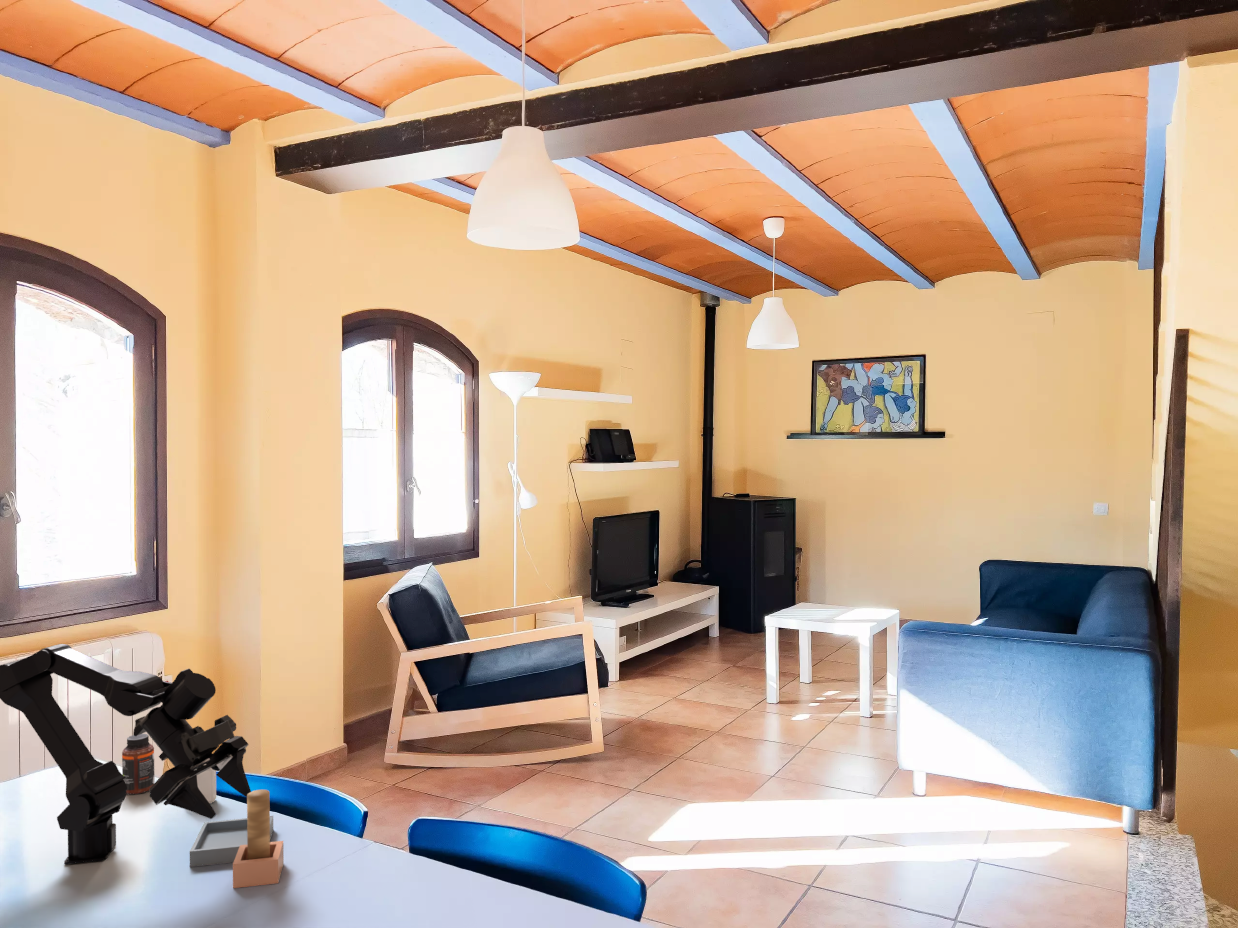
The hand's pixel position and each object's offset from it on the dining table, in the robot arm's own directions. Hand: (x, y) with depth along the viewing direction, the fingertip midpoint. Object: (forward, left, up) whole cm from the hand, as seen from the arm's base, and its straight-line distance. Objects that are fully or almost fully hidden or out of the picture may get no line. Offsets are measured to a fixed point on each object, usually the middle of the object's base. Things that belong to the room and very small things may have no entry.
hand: (232, 805), depth 150 cm
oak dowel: (+5, -2, -11) cm, 13 cm away
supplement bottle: (-25, +43, -12) cm, 51 cm away
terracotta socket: (+5, -2, -11) cm, 13 cm away
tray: (-1, +10, -11) cm, 15 cm away
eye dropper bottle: (-11, +33, -12) cm, 37 cm away
